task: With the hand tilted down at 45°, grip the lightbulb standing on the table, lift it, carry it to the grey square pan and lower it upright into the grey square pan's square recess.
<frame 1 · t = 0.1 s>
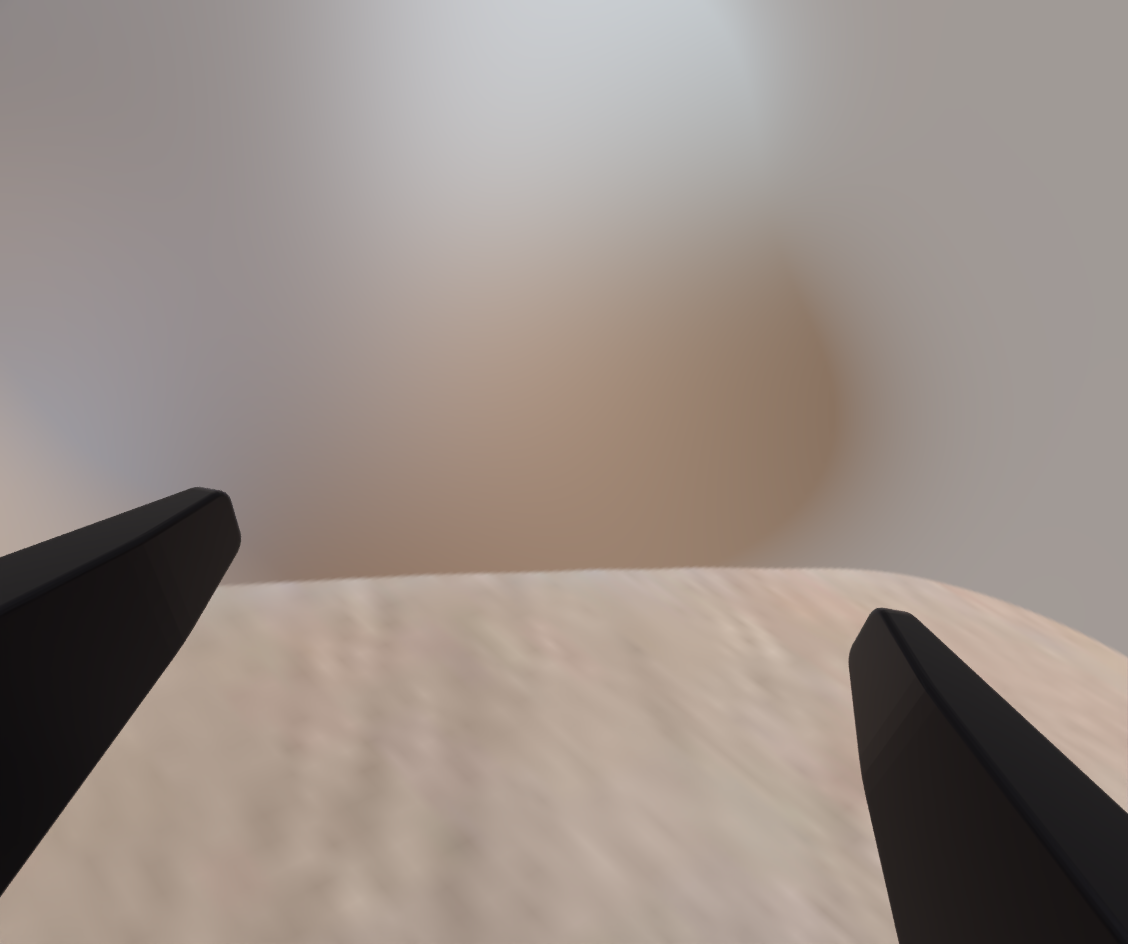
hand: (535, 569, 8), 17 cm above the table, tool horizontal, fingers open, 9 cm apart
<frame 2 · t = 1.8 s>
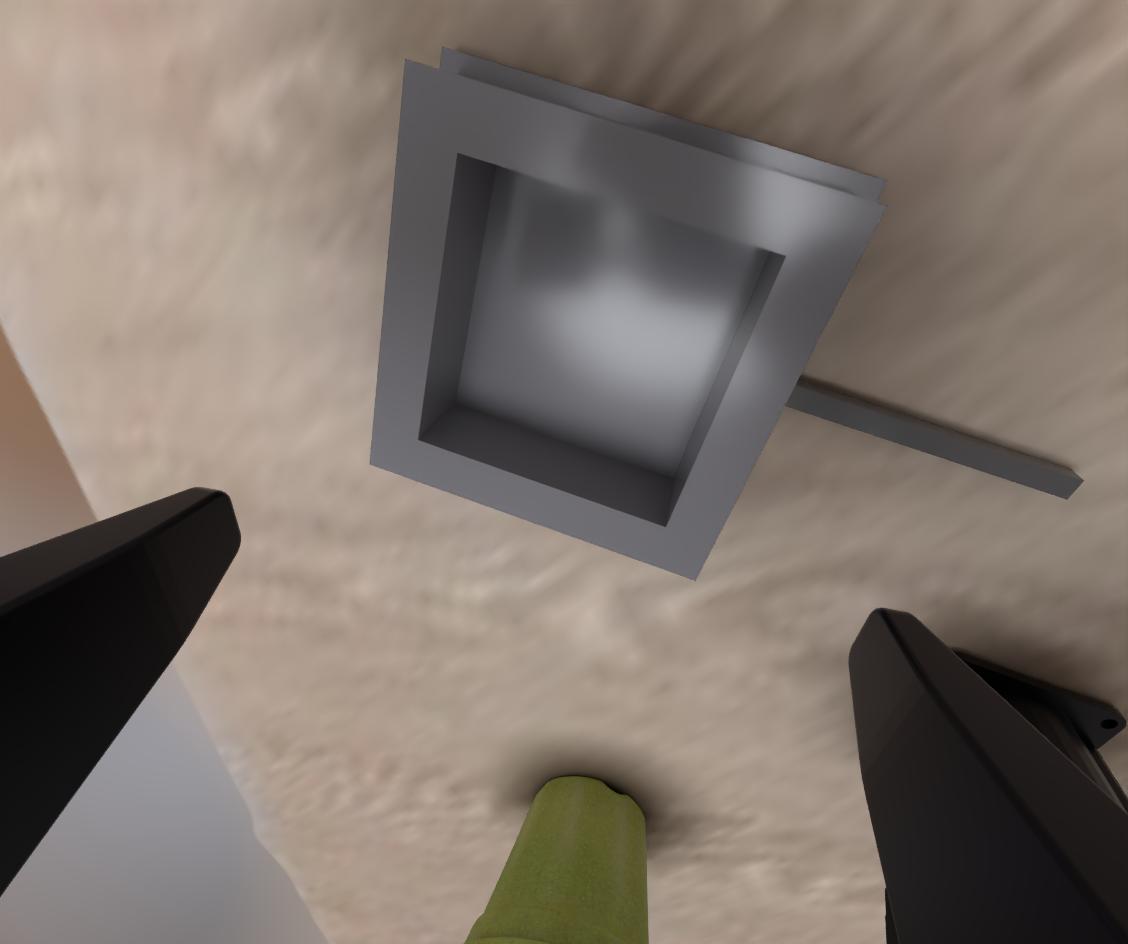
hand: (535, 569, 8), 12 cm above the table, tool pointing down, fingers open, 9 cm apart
grey square pan: (598, 325, 19), on the table
plant pot: (590, 805, 32), on the table
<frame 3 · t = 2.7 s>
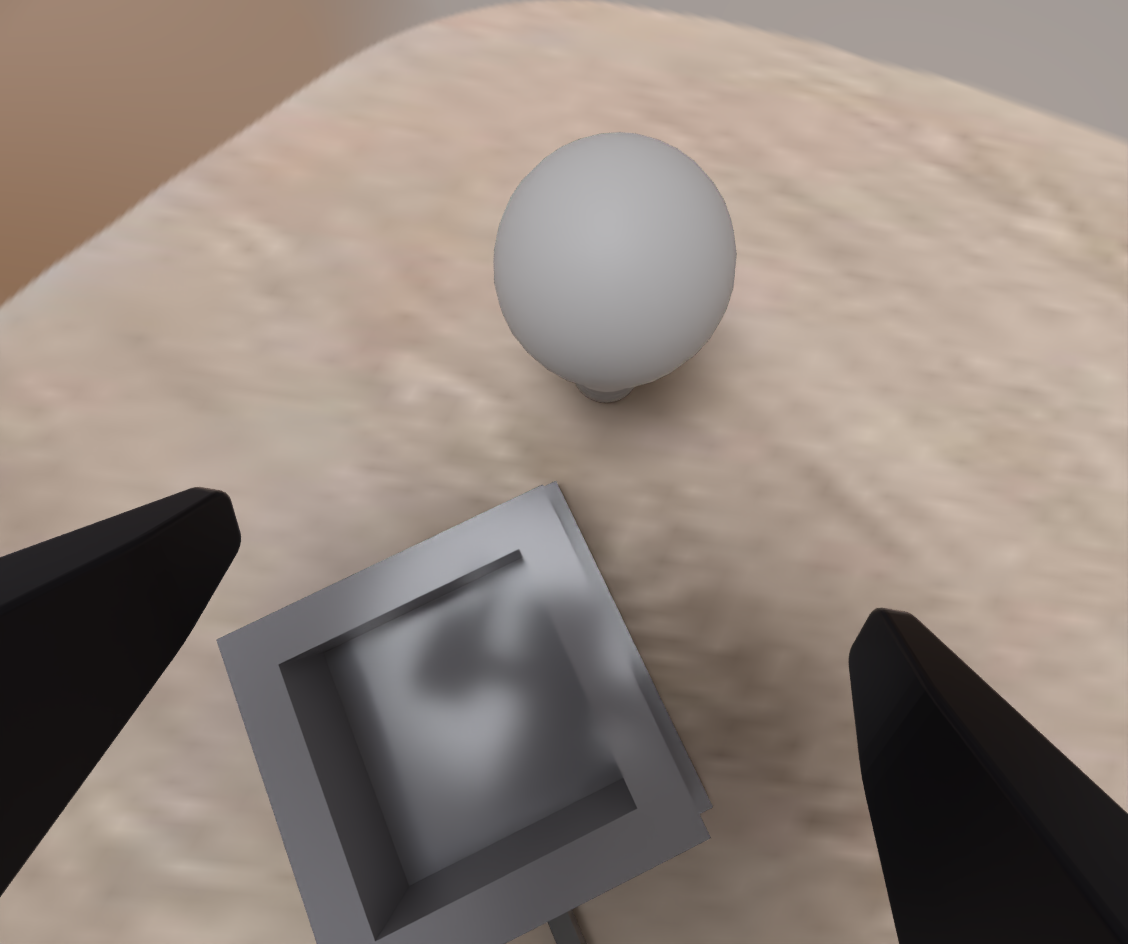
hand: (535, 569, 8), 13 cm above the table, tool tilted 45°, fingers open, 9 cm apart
lightbulb: (604, 380, 23), on the table
grey square pan: (476, 707, 20), on the table
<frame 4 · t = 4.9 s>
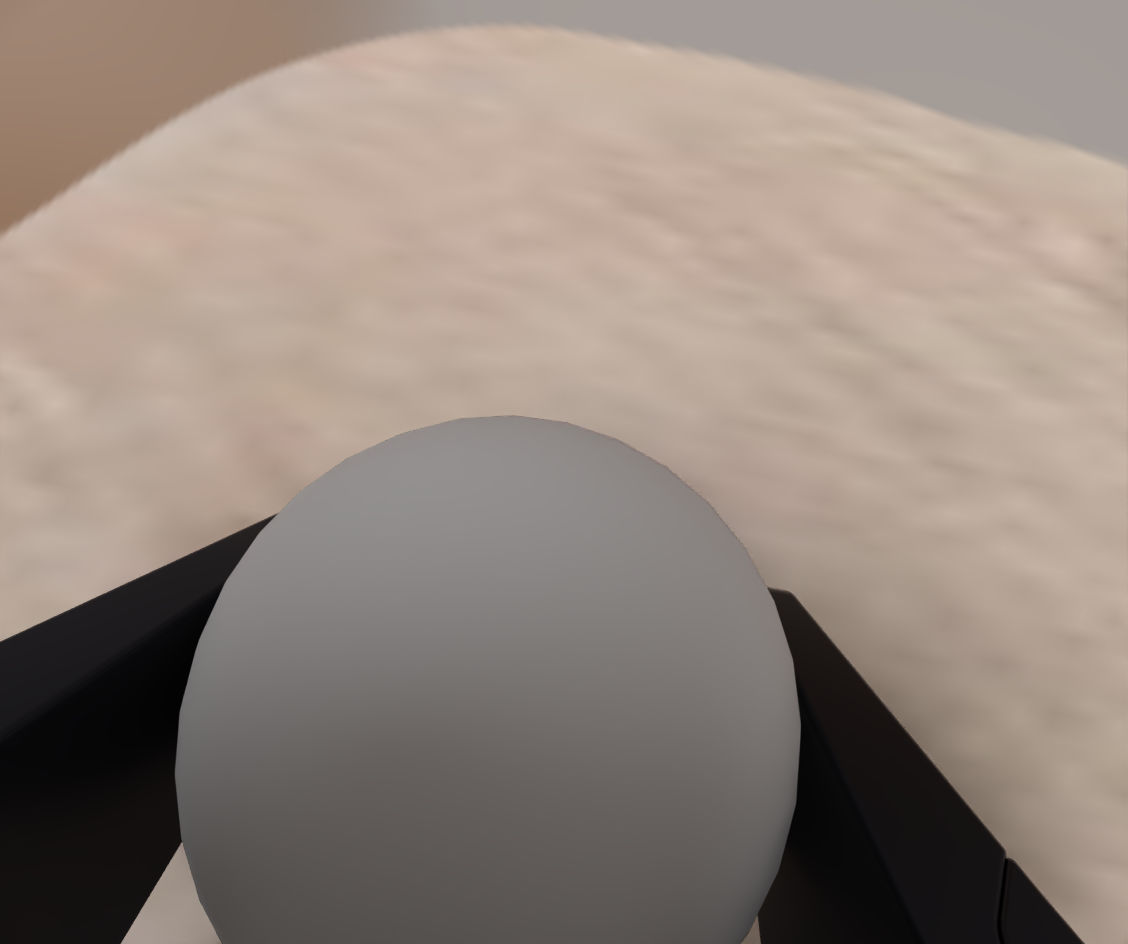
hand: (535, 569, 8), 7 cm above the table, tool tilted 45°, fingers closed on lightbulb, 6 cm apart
lightbulb: (550, 633, 14), on the table, touching gripper
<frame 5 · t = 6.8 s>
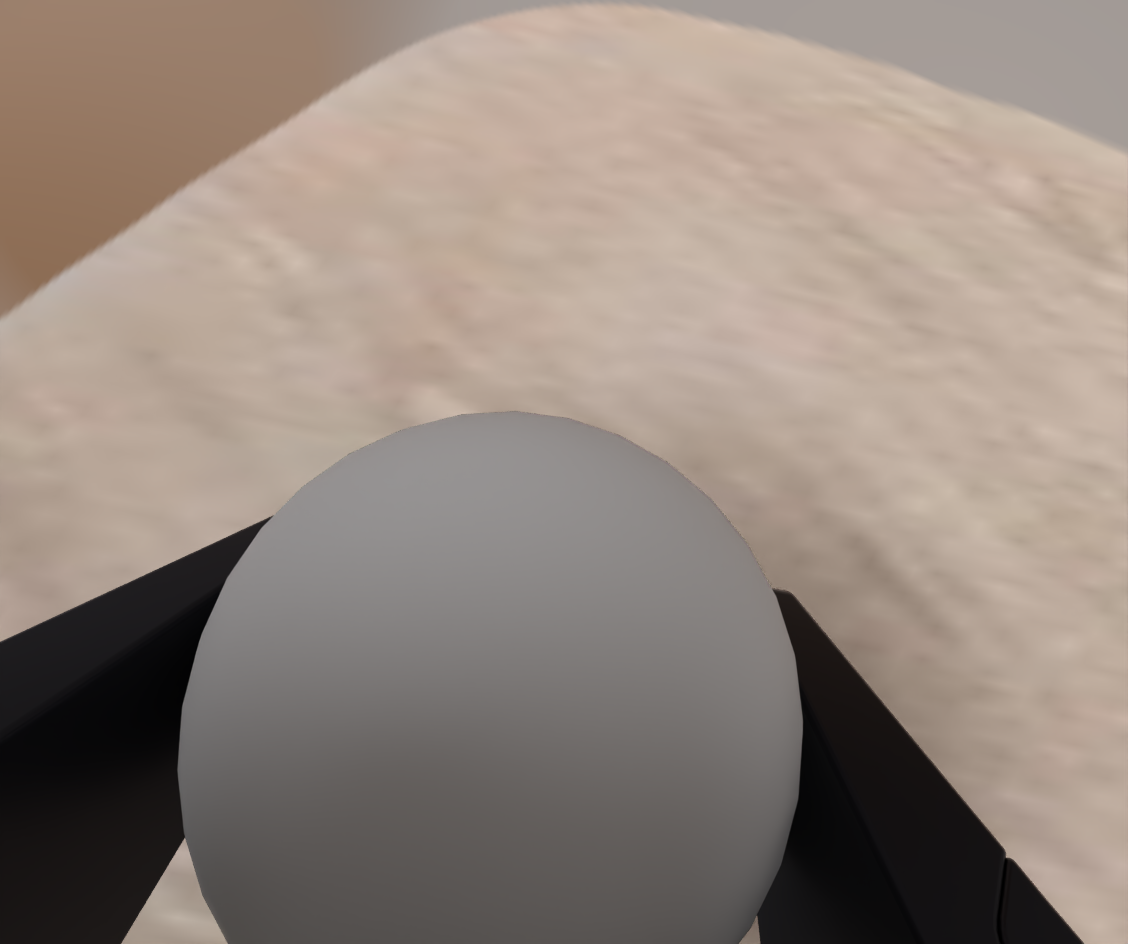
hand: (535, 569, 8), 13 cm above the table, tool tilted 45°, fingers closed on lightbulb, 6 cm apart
lightbulb: (551, 630, 14), point 6 cm above the table, touching gripper
when the fingers open (8 cm above the table, at t = 8.6 s): lightbulb stays where it is, resting on grey square pan.
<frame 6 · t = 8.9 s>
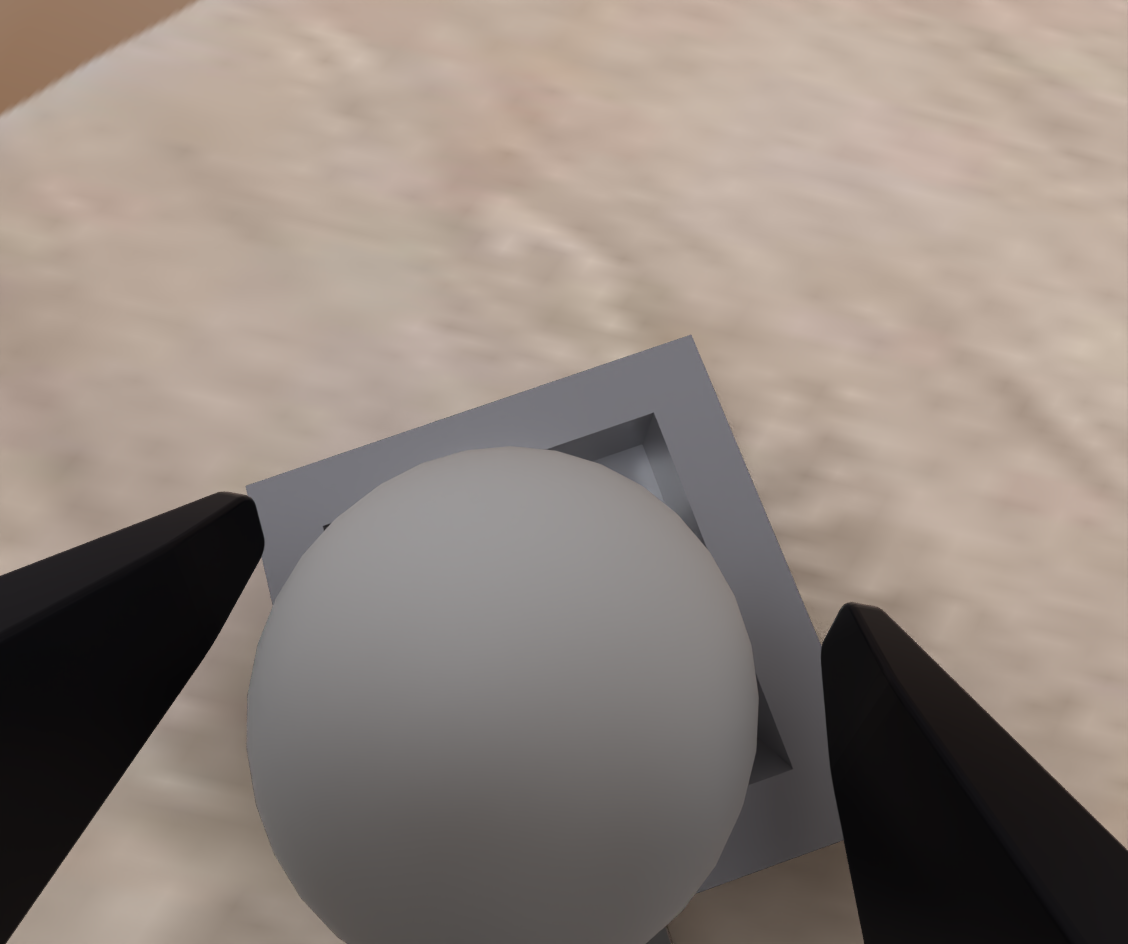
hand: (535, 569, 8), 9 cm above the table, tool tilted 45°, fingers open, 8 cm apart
lightbulb: (552, 629, 16), point 1 cm above the table, touching grey square pan
grey square pan: (555, 628, 16), on the table
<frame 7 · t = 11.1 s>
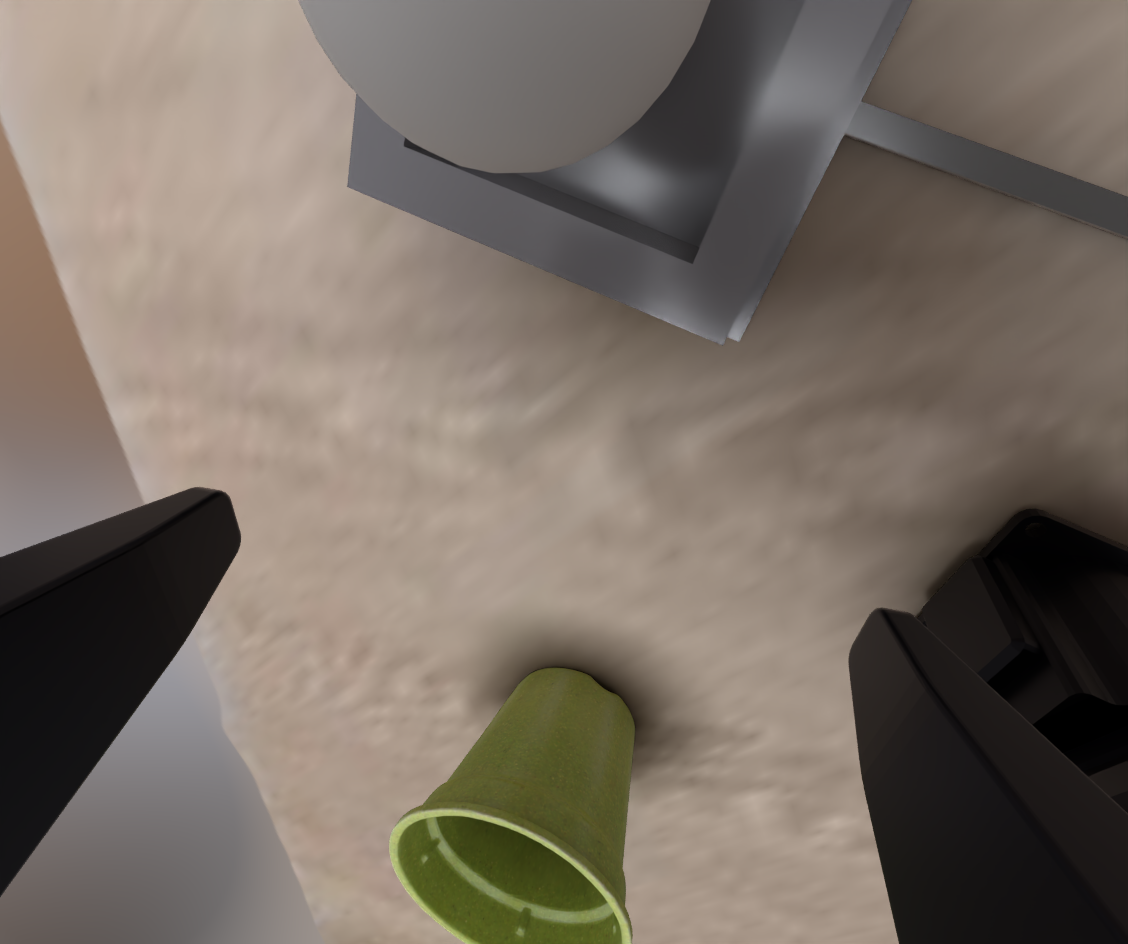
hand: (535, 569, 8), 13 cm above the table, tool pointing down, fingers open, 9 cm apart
lightbulb: (628, 38, 15), point 1 cm above the table, touching grey square pan
grey square pan: (634, 41, 15), on the table
plant pot: (575, 708, 28), on the table
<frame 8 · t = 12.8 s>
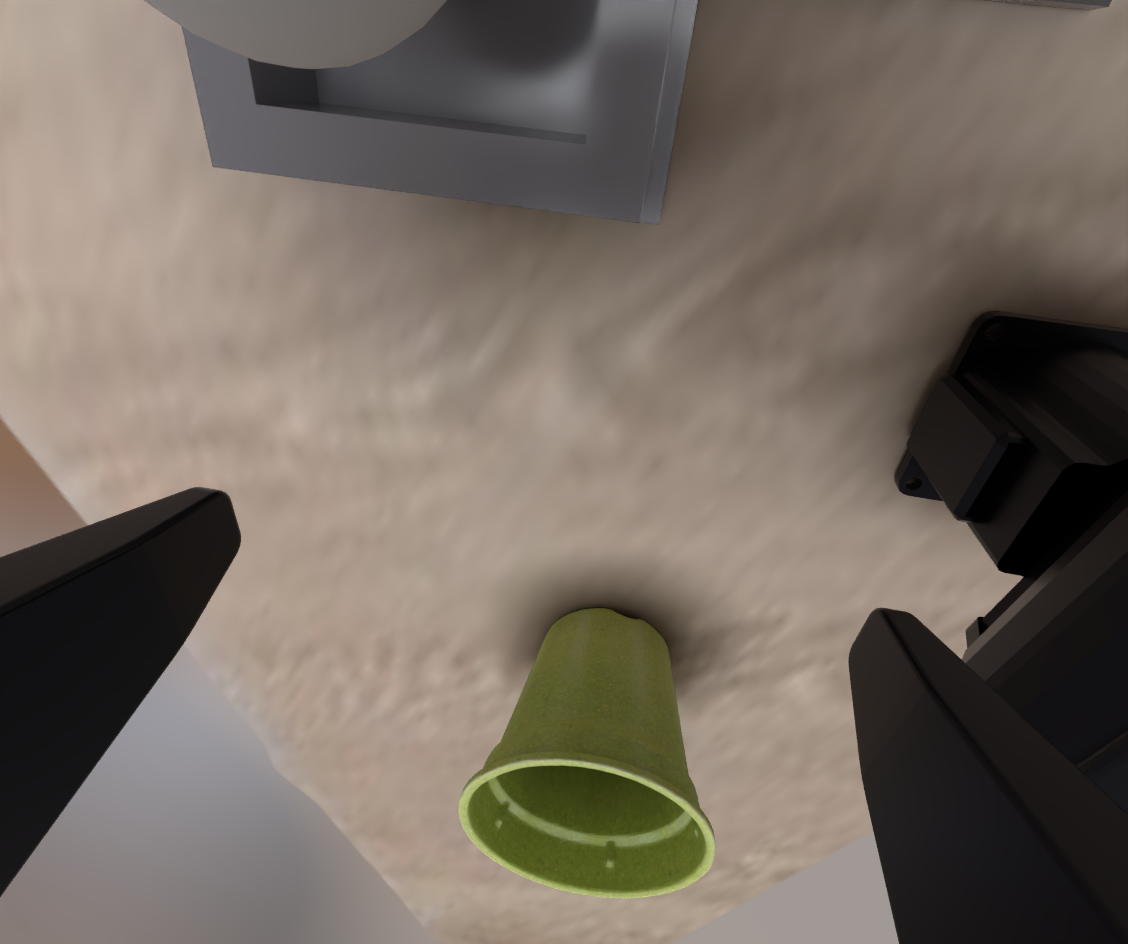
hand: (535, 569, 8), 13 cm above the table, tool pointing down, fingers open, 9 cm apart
plant pot: (605, 645, 28), on the table
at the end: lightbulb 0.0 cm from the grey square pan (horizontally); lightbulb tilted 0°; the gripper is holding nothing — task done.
